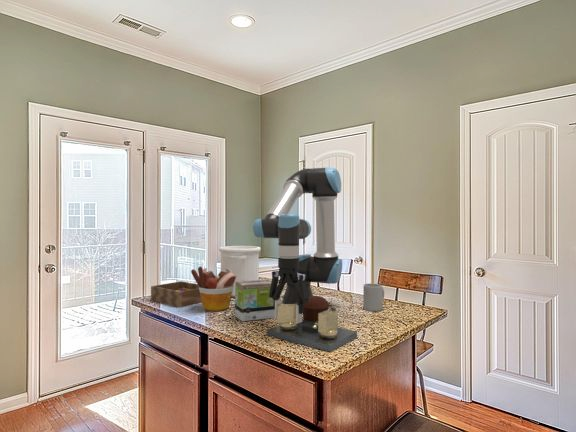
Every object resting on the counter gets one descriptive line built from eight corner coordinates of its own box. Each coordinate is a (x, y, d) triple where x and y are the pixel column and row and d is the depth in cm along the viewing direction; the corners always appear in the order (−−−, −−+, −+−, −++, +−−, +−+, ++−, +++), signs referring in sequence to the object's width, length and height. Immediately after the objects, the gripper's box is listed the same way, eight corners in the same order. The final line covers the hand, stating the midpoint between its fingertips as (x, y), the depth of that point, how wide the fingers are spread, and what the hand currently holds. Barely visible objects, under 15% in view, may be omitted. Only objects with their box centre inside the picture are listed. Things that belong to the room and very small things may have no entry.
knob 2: (329, 340, 119) (330, 313, 119) (314, 336, 123) (314, 310, 123) (342, 334, 126) (342, 309, 126) (326, 331, 129) (327, 306, 129)
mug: (374, 312, 164) (374, 287, 164) (359, 308, 170) (359, 284, 170) (390, 308, 171) (391, 284, 171) (375, 304, 178) (376, 282, 178)
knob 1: (277, 330, 130) (278, 305, 130) (276, 325, 136) (276, 301, 136) (300, 329, 131) (300, 305, 131) (298, 324, 137) (298, 301, 137)
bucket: (258, 299, 188) (258, 249, 188) (214, 298, 188) (214, 249, 188) (262, 289, 214) (262, 245, 214) (223, 288, 214) (223, 245, 214)
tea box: (242, 322, 147) (243, 285, 147) (234, 316, 156) (234, 281, 156) (277, 318, 154) (277, 282, 154) (267, 312, 163) (267, 278, 163)
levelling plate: (266, 335, 131) (266, 323, 131) (296, 323, 146) (296, 312, 146) (330, 351, 116) (330, 338, 116) (356, 337, 130) (357, 325, 130)
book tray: (150, 300, 184) (151, 286, 184) (181, 294, 198) (181, 281, 198) (179, 307, 170) (179, 292, 170) (210, 300, 184) (210, 286, 184)
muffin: (308, 327, 141) (308, 300, 141) (295, 319, 152) (296, 295, 152) (335, 323, 146) (335, 298, 146) (321, 316, 156) (321, 292, 156)
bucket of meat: (220, 301, 182) (221, 261, 182) (243, 307, 171) (243, 264, 171) (185, 309, 167) (185, 265, 167) (207, 316, 156) (208, 268, 156)
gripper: (319, 258, 130) (319, 323, 130) (272, 254, 143) (271, 313, 143) (307, 260, 124) (307, 328, 124) (259, 255, 137) (258, 317, 137)
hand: (288, 320), depth 133 cm, fingers open, 9 cm apart
